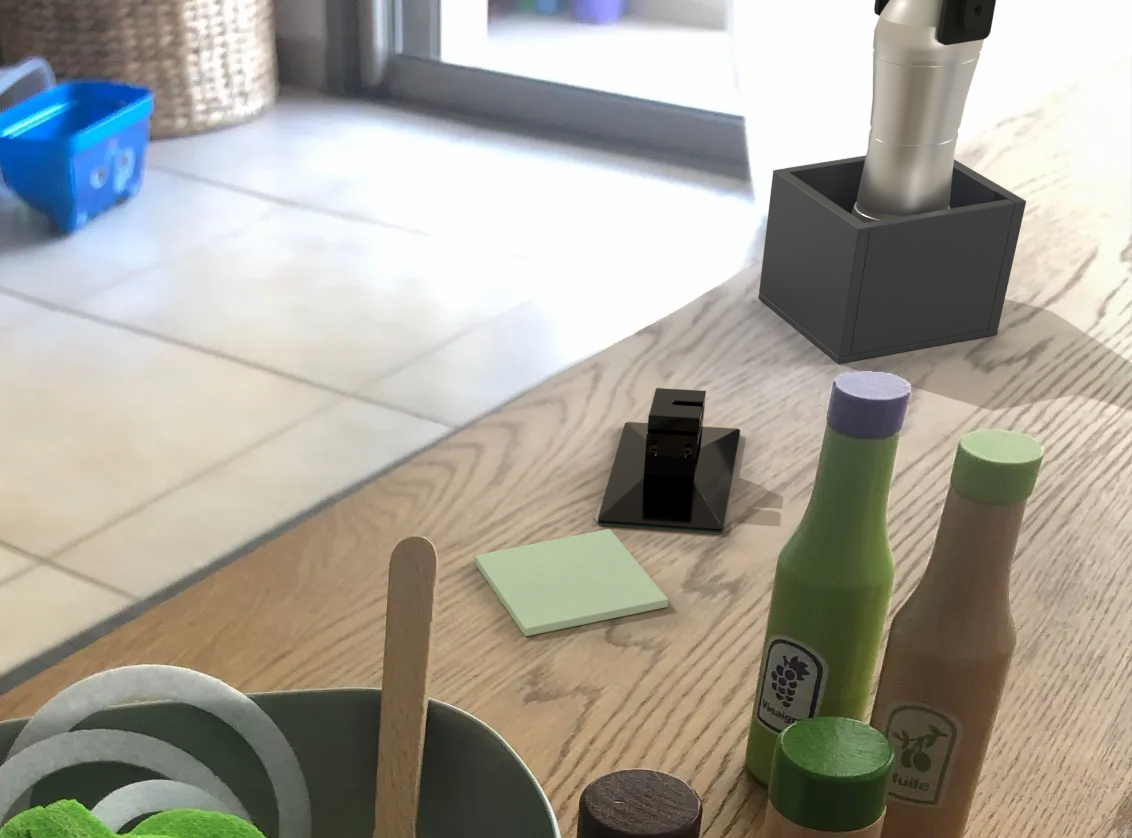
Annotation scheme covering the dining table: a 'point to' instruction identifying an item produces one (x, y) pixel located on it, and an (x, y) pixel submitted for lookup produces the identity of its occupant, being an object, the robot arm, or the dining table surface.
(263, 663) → the dining table surface
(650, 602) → the mat
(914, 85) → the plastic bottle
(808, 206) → the open box
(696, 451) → the black piece
